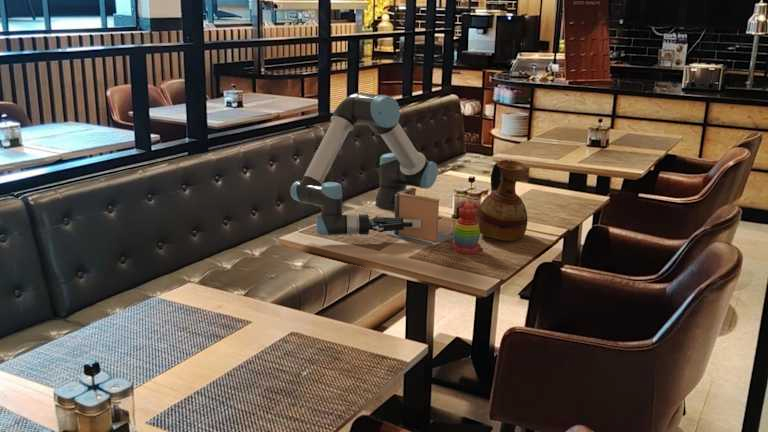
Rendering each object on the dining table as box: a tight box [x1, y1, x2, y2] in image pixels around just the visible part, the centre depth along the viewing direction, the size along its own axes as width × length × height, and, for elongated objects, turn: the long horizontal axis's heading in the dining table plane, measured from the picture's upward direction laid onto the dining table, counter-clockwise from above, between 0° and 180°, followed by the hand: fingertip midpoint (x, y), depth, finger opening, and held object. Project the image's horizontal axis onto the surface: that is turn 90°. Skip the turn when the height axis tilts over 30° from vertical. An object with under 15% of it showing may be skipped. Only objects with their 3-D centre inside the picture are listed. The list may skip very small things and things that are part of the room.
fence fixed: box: [394, 187, 417, 234], centre depth 288 cm, size 12×2×16 cm, turn 143°
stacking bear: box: [450, 202, 482, 255], centre depth 268 cm, size 11×10×18 cm
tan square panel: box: [399, 193, 440, 241], centre depth 279 cm, size 16×2×16 cm, turn 58°
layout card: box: [385, 231, 454, 248], centre depth 285 cm, size 15×22×1 cm
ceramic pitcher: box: [475, 159, 528, 241], centre depth 282 cm, size 20×20×30 cm
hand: (420, 223), depth 278 cm, fingers closed
